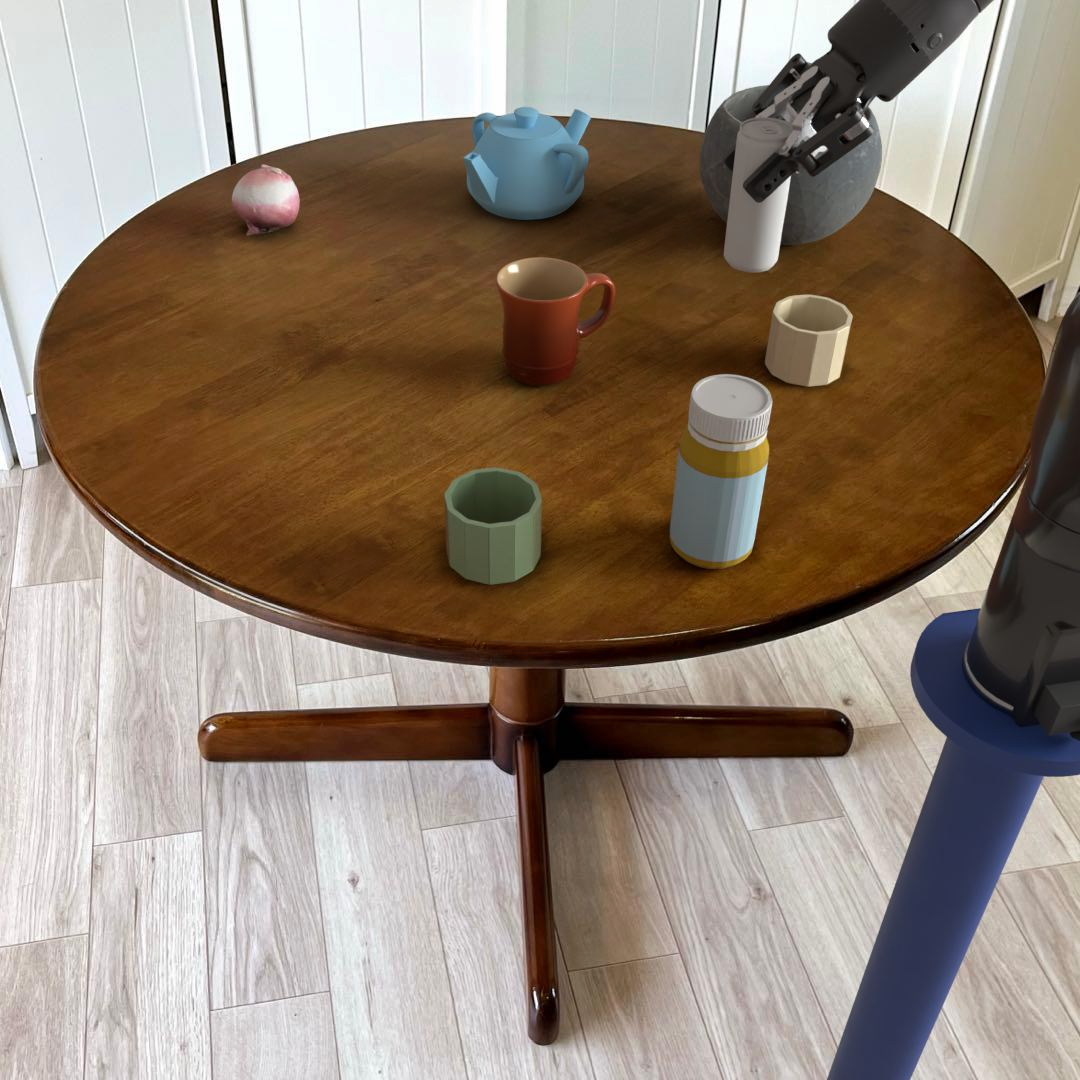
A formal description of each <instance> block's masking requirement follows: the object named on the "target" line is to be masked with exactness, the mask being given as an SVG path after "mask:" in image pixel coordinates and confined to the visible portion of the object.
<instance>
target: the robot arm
mask: <svg viewBox="0 0 1080 1080" xmlns="http://www.w3.org/2000/svg"><path fill="white" fill-rule="evenodd" d="M994 1H995V0H858V1H857V2H856V3H855V4H853V6H851V8H850V9H849V10H848V11H846V13H844V15H842V17H841V18H840V19H838V21H837V22H835V24H833V25H832V26H831V28H829V30H828V31H827V40H828V42H829V44H830V45H831V47H830V49H829V50H828V51H827V52H826V53H825V54H823V55H822V56H820V57H819V58H817V59H815V60H814V61H813V62H809V61H807V60H806V58H804V57H803V55H802V54H801V53H795V54H794V55H793V56H791V57H790V59H789V60H788V61H787V62H786V64H785V65H784V66H783V67H782V68H781V70H780V71H779V72H778V74H777V75H776V76H775V77H774V79H772V80H771V82H770V83H769V84H768V85H769V86H768V87H767V88H766V90H765V91H764V92H763V93H762V95H761V96H760V97H759V98H758V100H757V101H756V102H755V103H754V105H753V106H752V111H753V112H754V113H755V118H764V117H766V118H775V119H780V120H782V119H783V118H784V119H785V121H787V122H789V123H791V124H792V128H793V131H792V133H791V134H790V135H789V137H788V138H787V139H786V141H785V142H784V143H783V145H782V146H781V148H780V149H779V154H780V155H778V154H777V153H776V152H774V153H773V154H772V155H771V156H770V157H769V158H768V159H767V160H766V161H765V162H764V163H763V164H762V165H761V166H760V167H759V168H758V169H757V170H756V171H755V172H753V173H752V174H751V175H750V176H749V177H748V178H747V179H746V180H745V181H744V183H743V188H744V189H745V191H746V192H747V193H748V194H749V195H750V196H751V197H752V198H753V199H754V200H755V201H756V202H757V203H761V202H763V201H764V200H765V199H766V198H767V197H768V196H770V195H771V194H772V193H773V192H774V190H776V189H777V188H778V187H779V186H780V185H781V184H782V183H784V182H785V181H786V180H787V179H788V178H789V177H790V176H791V175H792V174H793V173H795V172H796V173H797V174H799V173H802V172H807V173H808V175H809V176H810V177H814V176H816V175H818V174H819V173H821V172H822V171H823V170H825V169H826V168H827V167H829V166H830V165H832V164H833V163H834V162H836V161H837V160H839V159H840V158H841V157H843V156H844V155H845V154H847V153H848V152H850V151H851V150H852V149H854V148H855V147H857V146H858V145H859V144H861V143H862V142H864V141H865V140H866V139H868V138H869V137H870V136H871V135H872V134H873V132H874V128H873V127H872V125H871V124H870V123H869V121H868V120H867V119H866V117H865V115H864V112H865V111H866V110H867V108H868V107H870V105H871V104H872V102H873V101H874V100H875V98H878V100H881V101H882V102H885V103H889V102H891V101H893V100H894V99H895V98H896V97H897V96H898V95H900V93H902V91H903V90H905V89H906V88H907V87H908V86H909V85H910V84H911V83H912V82H913V81H914V80H915V79H916V78H917V77H918V76H920V74H921V73H923V72H924V71H925V70H926V69H927V68H928V67H929V66H930V65H931V64H932V63H933V62H935V60H937V59H938V58H939V57H940V56H941V55H942V54H943V53H944V52H946V50H948V48H950V46H952V45H953V44H954V43H955V42H956V41H957V40H958V39H959V38H960V36H961V35H962V34H963V33H964V32H965V31H966V30H967V28H968V27H969V26H970V24H972V22H973V21H974V20H975V19H976V18H977V17H978V16H979V14H981V13H982V12H983V11H984V10H985V9H987V7H989V6H990V4H992V3H993V2H994ZM774 97H775V98H774ZM773 98H774V101H775V102H774V104H772V105H771V106H770V107H769V106H768V105H769V103H770V102H771V101H772V100H773ZM840 135H841V136H840ZM802 139H803V140H804V141H805V142H804V143H803V144H801V145H800V146H799V147H797V146H798V145H799V143H800V142H801V141H802ZM827 149H828V151H827V152H826V153H824V154H823V155H822V156H820V157H819V158H817V159H816V158H815V156H816V155H817V153H818V152H824V151H826V150H827ZM735 150H736V143H735V144H734V145H733V146H732V147H731V148H730V149H729V150H728V151H727V152H726V153H725V154H724V155H723V158H722V159H723V162H724V163H725V164H726V166H727V167H728V168H729V169H730V170H731V171H732V172H733V168H734V159H735ZM1029 442H1030V444H1029V445H1030V448H1029V449H1030V456H1029V457H1030V458H1029V459H1030V460H1029V466H1028V470H1027V472H1026V476H1025V479H1024V482H1023V485H1022V488H1021V491H1020V493H1019V496H1018V499H1017V502H1016V505H1015V508H1014V511H1013V513H1012V515H1011V519H1010V522H1009V525H1008V528H1007V531H1006V534H1005V536H1004V540H1003V542H1002V545H1001V548H1000V550H999V551H1000V552H999V555H998V557H997V560H996V563H995V565H994V568H993V571H992V574H991V578H990V580H989V584H988V585H987V589H986V592H985V595H984V597H983V598H984V599H983V601H982V604H981V607H980V608H981V609H980V612H979V615H978V618H977V621H976V625H975V628H974V631H973V633H972V636H971V639H970V640H969V642H968V644H967V646H966V649H965V652H964V655H963V660H962V667H963V672H964V675H965V677H966V680H967V682H968V683H969V685H970V686H971V688H972V689H973V690H974V691H975V693H976V694H977V695H978V696H979V697H980V698H982V699H983V700H984V701H985V702H987V703H988V704H989V705H991V706H992V707H994V708H996V709H997V710H999V711H1001V712H1003V713H1005V714H1007V715H1009V716H1011V718H1012V719H1013V720H1014V721H1015V723H1016V724H1017V725H1018V726H1019V727H1027V726H1033V725H1040V724H1041V726H1042V727H1043V729H1044V730H1045V731H1046V733H1047V734H1048V736H1050V735H1057V734H1063V733H1069V732H1070V736H1071V737H1072V738H1074V739H1077V740H1079V741H1080V291H1079V292H1078V293H1077V294H1076V295H1075V297H1074V298H1073V299H1072V301H1071V302H1070V303H1069V306H1068V307H1067V309H1066V311H1065V312H1064V315H1063V316H1062V319H1061V321H1060V323H1059V327H1058V330H1057V332H1056V335H1055V339H1054V342H1053V346H1052V349H1051V353H1050V356H1049V361H1048V364H1047V368H1046V372H1045V375H1044V380H1043V384H1042V387H1041V391H1040V395H1039V398H1038V403H1037V406H1036V409H1035V413H1034V416H1033V420H1032V425H1031V431H1030V441H1029Z"/></svg>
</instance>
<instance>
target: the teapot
mask: <svg viewBox="0 0 1080 1080" xmlns="http://www.w3.org/2000/svg"><path fill="white" fill-rule="evenodd" d="M591 120H592V116H590V115H588V114H587V113H586V112H584V111H582V110H580V109H578V108H575V109H574V110H573V111H572V114H571V115H570V117H569V119H568V120H567V123H566V125H565V127H564V126H563V124H562V123H561V122H560V121H559V120H558V119H557V118H555V117H553V116H551V115H547V114H544V113H540V112H539V110H538V109H537V108H535V107H531V106H521V107H517V108H515V109H514V110H513V112H511V113H506V114H503V115H500V116H497V115H496V114H495V113H493V112H483V113H480V114H478V115H476V116H475V117H474V119H473V120H472V124H471V129H472V130H471V132H472V139H473V145H474V149H473V150H472V151H471V152H470V153H468V154H466V155H465V156H464V157H462V158H463V163H464V166H465V169H466V187H467V190H468V192H469V194H470V196H471V197H472V198H473V199H474V200H475V202H476V203H477V204H478V205H480V207H482V209H483V210H485V211H487V212H489V213H491V214H492V215H496V216H498V217H501V218H506V219H511V220H512V219H513V220H521V221H522V220H523V221H530V220H531V221H533V220H534V221H535V220H541V219H548V218H551V217H555V216H557V215H560V214H562V213H564V212H566V211H567V210H568V209H569V208H570V207H571V206H573V204H575V202H576V201H577V200H578V199H579V198H580V197H581V195H582V193H583V191H584V188H585V173H586V170H587V168H588V164H589V151H588V150H587V149H586V148H585V147H584V146H583V145H581V144H579V143H580V141H581V139H582V138H583V135H584V134H585V131H586V129H587V127H588V125H589V123H590V121H591ZM485 122H486V124H488V126H487V128H486V129H485Z"/></svg>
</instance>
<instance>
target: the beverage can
mask: <svg viewBox="0 0 1080 1080" xmlns="http://www.w3.org/2000/svg"><path fill="white" fill-rule="evenodd" d="M792 131H793V128H792V124H791V123H789V122H787V121H784V120H780V119H775V118H766V117H764V118H752V119H748V120H745V121H743V122H742V123H741V124H740V131H739V132H738V134H737V141H736V150H735V159H734V168H733V176H732V185H731V194H730V203H729V211H728V220H727V223H726V229H725V240H724V248H723V257H724V259H725V261H726V263H727V264H728V265H729V266H730V267H731V268H733V269H735V270H737V271H740V272H744V273H752V274H753V273H754V274H755V273H757V274H759V273H763V272H764V273H765V272H767V271H769V270H771V269H772V268H773V267H774V266H775V265H776V264H777V262H778V260H779V255H780V248H781V245H780V242H781V235H782V228H783V223H784V217H785V211H786V205H787V199H788V192H789V185H790V179H791V176H790V177H789V178H788V179H787V180H786V181H785V182H784V183H782V184H781V185H780V186H779V187H778V188H777V189H776V190H774V192H773V193H772V194H771V195H770V196H768V197H767V198H766V199H765V200H764V201H763V202H761V203H757V202H756V201H755V200H754V199H753V198H752V197H751V196H750V195H749V194H748V193H747V192H746V191H745V189H744V188H743V183H744V181H745V180H746V179H747V178H748V177H749V176H750V175H751V174H752V173H753V172H755V171H756V170H757V169H758V168H759V167H760V166H761V165H762V164H763V163H764V162H765V161H766V160H767V159H768V158H769V157H770V156H771V155H772V154H773V153H774V152H776V153H777V154H778V155H780V154H779V149H780V148H781V146H782V145H783V143H784V142H785V141H786V139H787V138H788V137H789V135H790V134H791V133H792Z"/></svg>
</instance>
